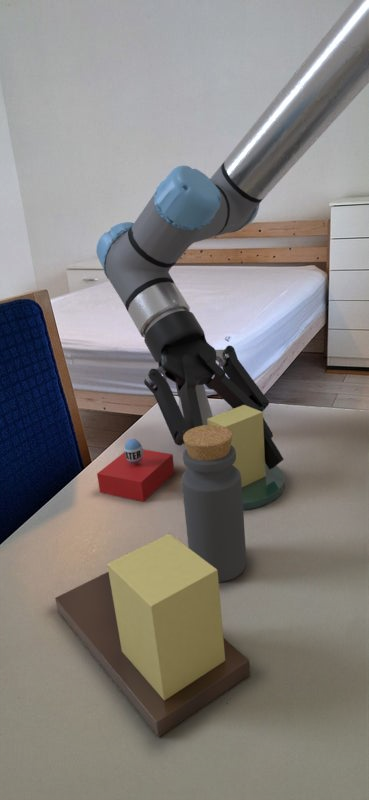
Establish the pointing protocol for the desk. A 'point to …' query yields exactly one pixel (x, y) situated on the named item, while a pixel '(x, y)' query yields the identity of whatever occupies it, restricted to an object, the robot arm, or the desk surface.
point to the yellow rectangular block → (245, 440)
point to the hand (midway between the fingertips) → (254, 474)
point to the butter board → (99, 632)
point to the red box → (135, 472)
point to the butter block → (168, 613)
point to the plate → (263, 489)
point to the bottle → (214, 500)
